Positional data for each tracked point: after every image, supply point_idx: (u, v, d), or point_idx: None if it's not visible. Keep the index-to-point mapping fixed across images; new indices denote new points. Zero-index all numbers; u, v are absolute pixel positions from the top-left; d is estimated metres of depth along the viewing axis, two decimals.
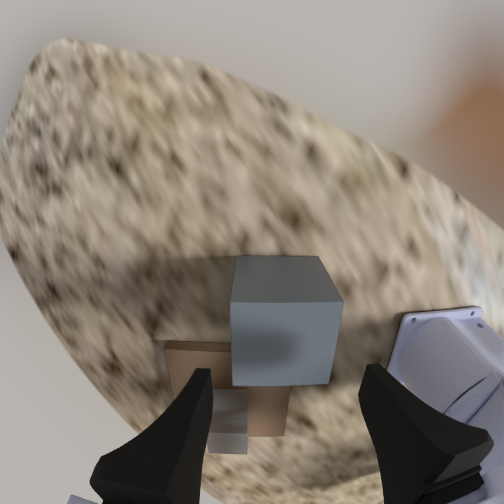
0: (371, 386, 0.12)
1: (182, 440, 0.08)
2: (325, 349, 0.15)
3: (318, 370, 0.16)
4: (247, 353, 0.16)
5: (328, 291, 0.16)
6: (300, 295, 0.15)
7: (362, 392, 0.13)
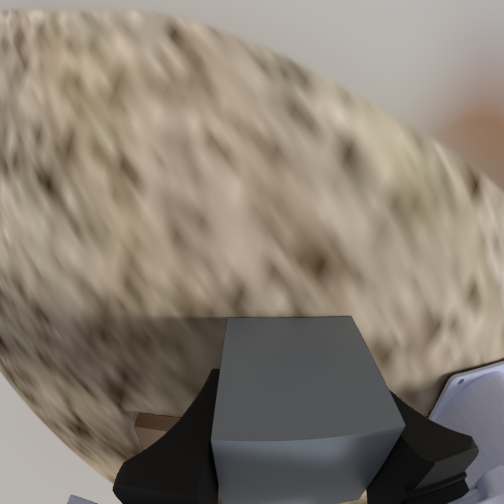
0: None
1: (206, 442, 0.08)
2: (362, 475, 0.08)
3: (347, 492, 0.08)
4: (243, 486, 0.08)
5: (378, 402, 0.08)
6: (334, 417, 0.08)
7: None
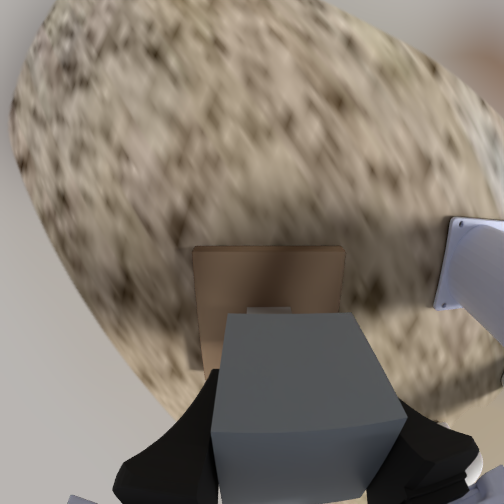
0: None
1: (206, 442, 0.08)
2: (364, 470, 0.08)
3: (349, 489, 0.08)
4: (243, 482, 0.08)
5: (380, 394, 0.08)
6: (335, 409, 0.08)
7: None
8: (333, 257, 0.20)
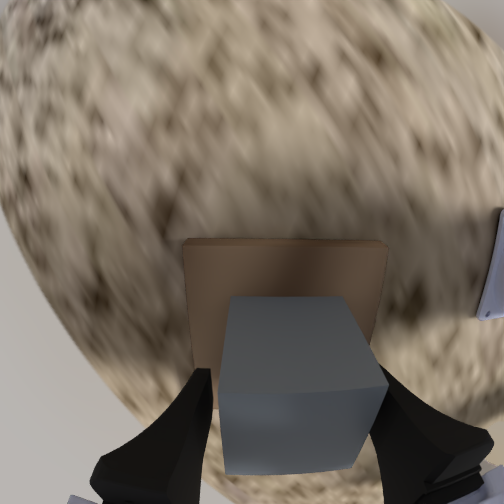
0: None
1: (182, 440, 0.08)
2: (353, 438, 0.10)
3: (340, 458, 0.10)
4: (245, 446, 0.10)
5: (365, 365, 0.10)
6: (325, 376, 0.09)
7: None
8: (373, 255, 0.14)
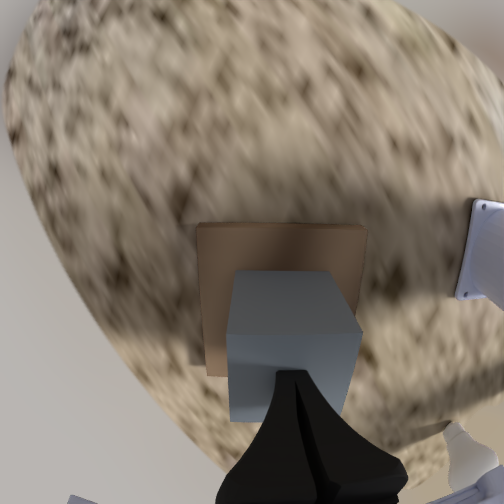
0: None
1: (299, 443, 0.08)
2: (338, 384, 0.13)
3: None
4: (247, 389, 0.13)
5: (344, 318, 0.13)
6: (311, 324, 0.12)
7: None
8: (354, 236, 0.17)
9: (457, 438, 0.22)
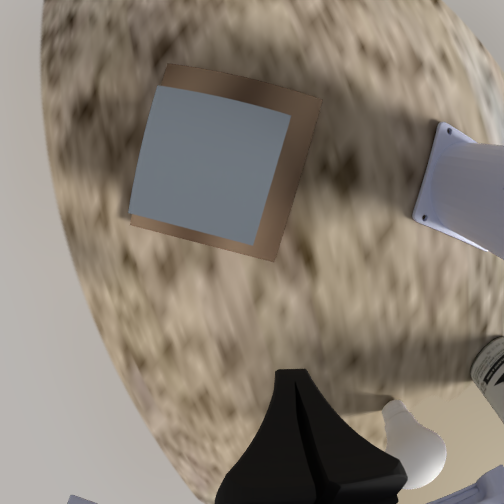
0: None
1: (299, 443, 0.08)
2: (257, 180, 0.12)
3: (242, 215, 0.12)
4: (157, 160, 0.12)
5: None
6: None
7: None
8: (308, 101, 0.17)
9: (399, 416, 0.23)
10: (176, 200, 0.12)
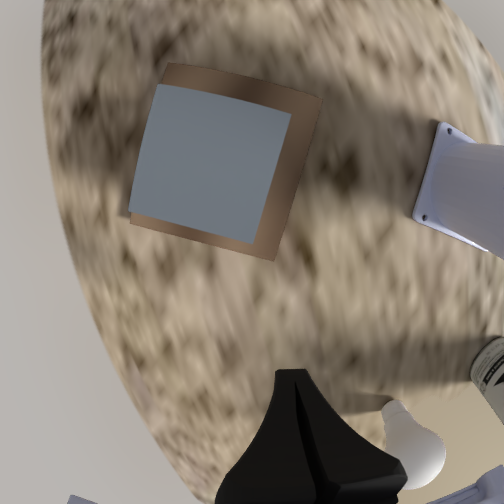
0: None
1: (299, 443, 0.08)
2: (257, 179, 0.12)
3: (242, 213, 0.12)
4: (157, 158, 0.12)
5: None
6: None
7: None
8: (309, 100, 0.17)
9: (398, 416, 0.23)
10: (176, 198, 0.12)
